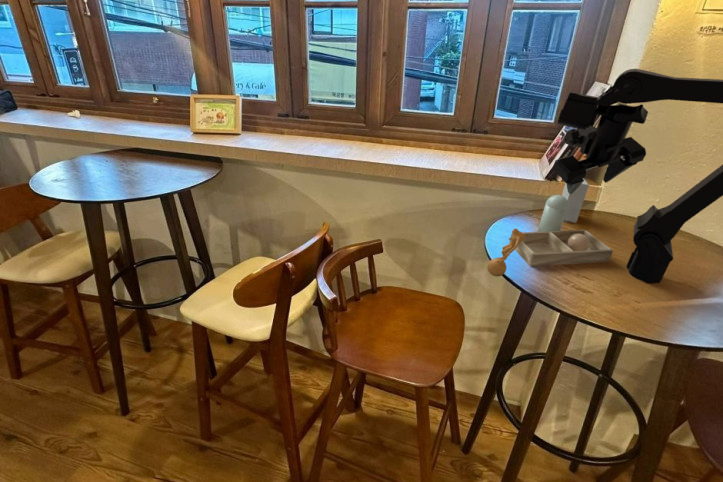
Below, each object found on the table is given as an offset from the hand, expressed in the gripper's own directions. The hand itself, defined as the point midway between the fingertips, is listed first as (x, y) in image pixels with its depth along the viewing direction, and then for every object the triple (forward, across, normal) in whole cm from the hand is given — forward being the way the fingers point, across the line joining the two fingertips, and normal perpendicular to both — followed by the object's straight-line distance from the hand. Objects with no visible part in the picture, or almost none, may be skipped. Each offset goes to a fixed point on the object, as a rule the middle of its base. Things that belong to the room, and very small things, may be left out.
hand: (587, 187), depth 95 cm
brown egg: (+11, +6, +9) cm, 16 cm away
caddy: (+10, +11, +9) cm, 17 cm away
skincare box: (+20, -4, -6) cm, 21 cm away
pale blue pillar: (+14, +7, +1) cm, 16 cm away
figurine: (+4, +29, +13) cm, 32 cm away
